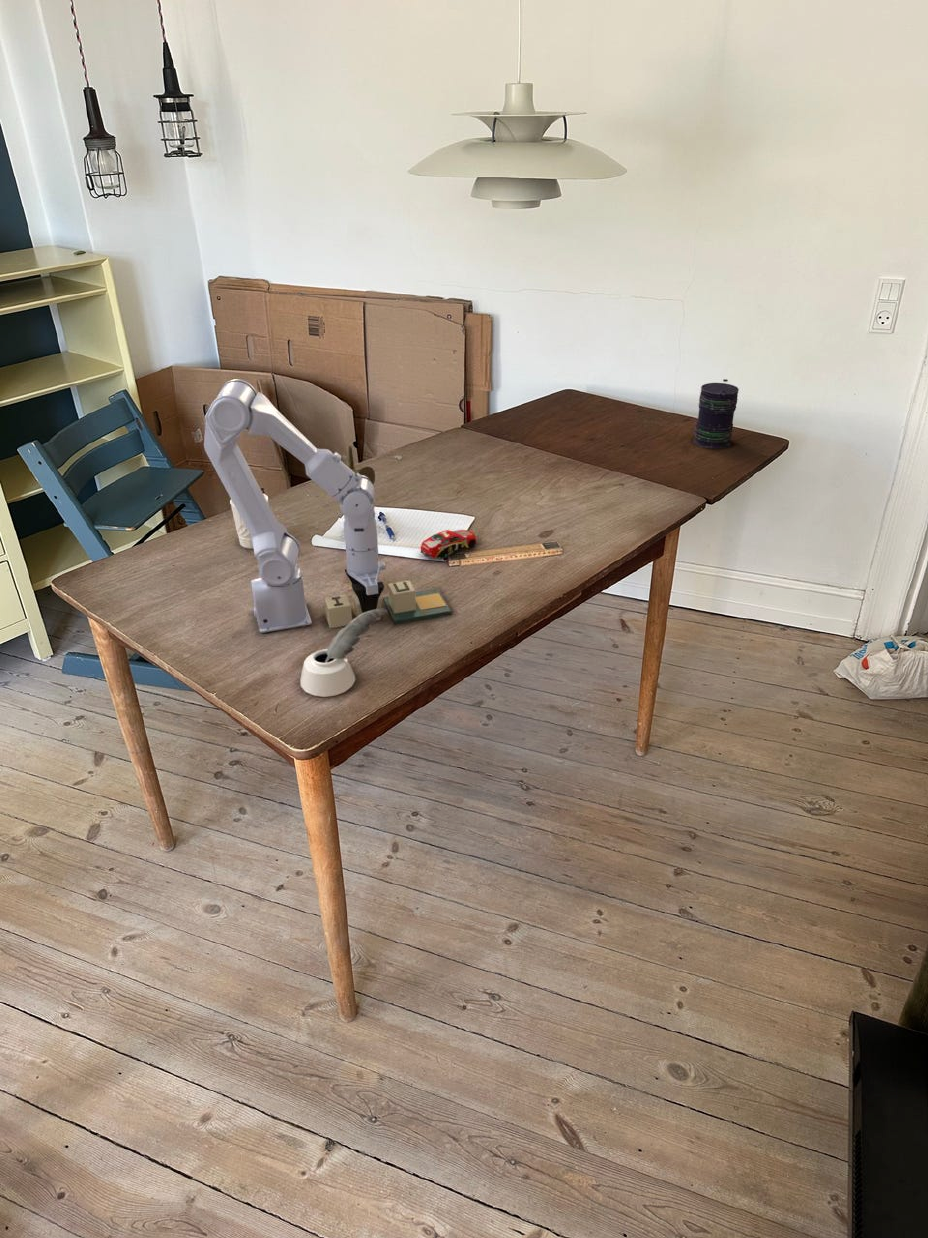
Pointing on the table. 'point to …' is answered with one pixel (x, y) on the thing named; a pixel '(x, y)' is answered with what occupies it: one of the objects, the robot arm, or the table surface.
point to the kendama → (363, 471)
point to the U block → (402, 596)
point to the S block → (357, 605)
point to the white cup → (243, 527)
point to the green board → (421, 607)
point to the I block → (338, 611)
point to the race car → (447, 543)
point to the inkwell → (336, 659)
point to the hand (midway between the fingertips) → (366, 609)
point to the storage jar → (716, 415)
